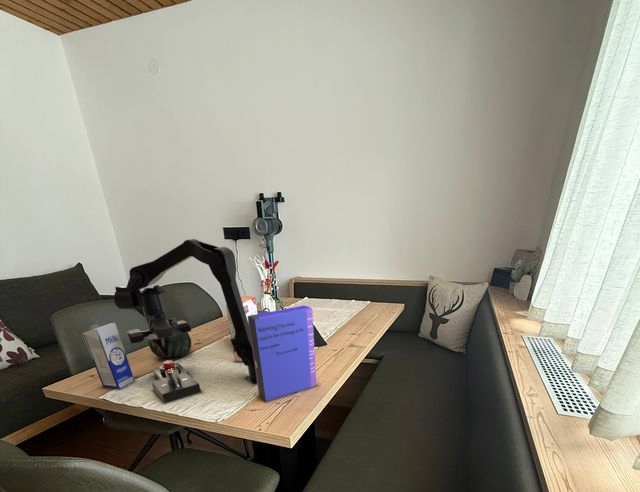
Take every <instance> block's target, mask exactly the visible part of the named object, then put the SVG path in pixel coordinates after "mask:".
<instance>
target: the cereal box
mask: <svg viewBox="0 0 640 492" xmlns="http://www.w3.org/2000/svg"><path fill="white" fill-rule="evenodd" d="M247 317H248V323H249V330H250V337H251V344H252V351H253V357H254V364H255V371H256V378H257V383H256V385H257V390H258V396H259V397H260V398H261V399H262V400H263V401H264V402H269V401H272V400H276V399H279V398H282V397H285V396H289V395H292V394H295V393H297V392H298V393H299V392H301V391H305V390H308V389H311V388H314V387H317V385H318V384H317V371H316V370H317V369H316V368H317V367H316V351H315V350H316V349H315V334H314V316H313V308H312V307H310V306H307V305H299V306H295V307H289V308H288V307H287V308H284V309H283V308H282V309H278V310H272V311H267V312H261V313H257V314H256V315H250V316H247Z"/></svg>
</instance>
